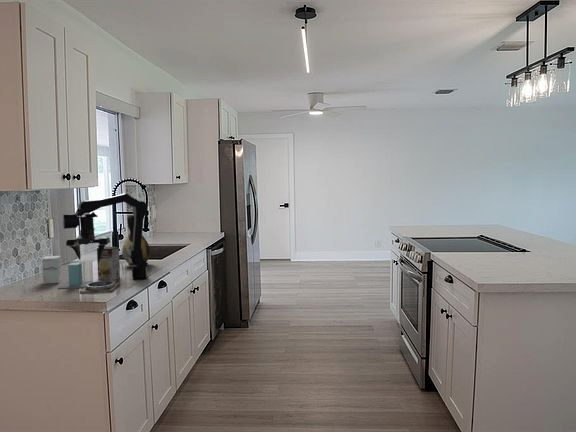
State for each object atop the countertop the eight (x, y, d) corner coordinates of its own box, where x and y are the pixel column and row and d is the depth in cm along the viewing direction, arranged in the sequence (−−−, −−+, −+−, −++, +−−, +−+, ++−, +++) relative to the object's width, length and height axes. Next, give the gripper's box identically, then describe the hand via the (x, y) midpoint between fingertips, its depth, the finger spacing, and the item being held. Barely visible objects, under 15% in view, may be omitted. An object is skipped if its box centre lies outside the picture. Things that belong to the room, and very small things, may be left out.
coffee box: (97, 279, 233) (95, 248, 231) (105, 276, 239) (104, 246, 237) (112, 280, 230) (111, 248, 229) (120, 277, 236) (119, 246, 235)
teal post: (82, 283, 223) (81, 262, 222) (79, 285, 218) (78, 264, 217) (72, 283, 222) (71, 263, 221) (69, 285, 218) (68, 264, 217)
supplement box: (42, 284, 223) (41, 258, 222) (46, 281, 230) (44, 256, 229) (59, 283, 225) (57, 257, 224) (62, 279, 232) (60, 255, 231)
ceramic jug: (129, 263, 275) (127, 213, 272) (154, 263, 274) (152, 213, 271) (116, 268, 258) (114, 216, 256) (143, 269, 257) (141, 216, 254)
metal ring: (117, 285, 220) (117, 280, 220) (110, 291, 208) (110, 286, 207) (91, 286, 218) (90, 281, 218) (82, 292, 206) (82, 287, 206)
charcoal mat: (92, 282, 227) (92, 281, 227) (84, 288, 215) (84, 287, 215) (67, 282, 226) (67, 281, 226) (57, 288, 214) (57, 287, 214)
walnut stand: (119, 284, 221) (119, 282, 221) (112, 292, 207) (112, 290, 207) (89, 285, 219) (89, 283, 219) (79, 293, 205) (79, 291, 205)
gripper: (60, 230, 210) (63, 263, 212) (102, 228, 212) (104, 261, 214) (69, 226, 221) (71, 258, 223) (109, 225, 223) (111, 257, 225)
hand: (89, 259), depth 221 cm, fingers open, 9 cm apart
